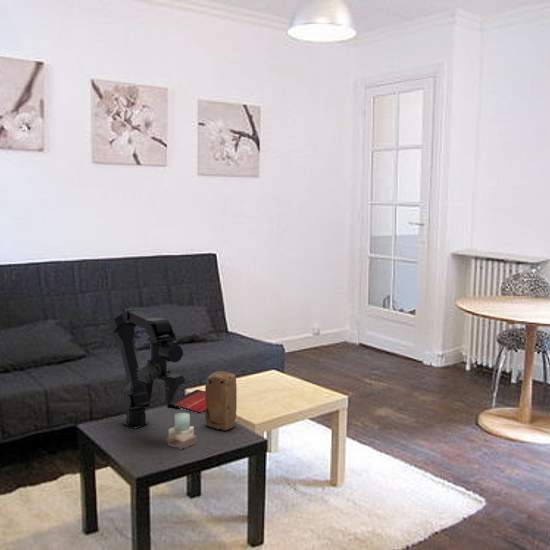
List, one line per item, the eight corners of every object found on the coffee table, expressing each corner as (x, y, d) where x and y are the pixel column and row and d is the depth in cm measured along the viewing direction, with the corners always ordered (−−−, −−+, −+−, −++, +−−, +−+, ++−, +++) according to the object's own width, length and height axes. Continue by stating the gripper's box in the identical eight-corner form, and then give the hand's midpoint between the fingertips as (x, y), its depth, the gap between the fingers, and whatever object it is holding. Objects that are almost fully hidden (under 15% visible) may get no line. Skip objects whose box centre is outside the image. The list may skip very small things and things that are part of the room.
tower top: (168, 438, 213) (168, 429, 213) (178, 432, 219) (179, 423, 218) (183, 441, 211) (183, 432, 210) (193, 435, 216) (193, 426, 216)
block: (238, 426, 232) (238, 373, 229) (226, 433, 225) (227, 378, 223) (213, 420, 237) (213, 368, 235) (201, 427, 231) (201, 373, 228)
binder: (167, 402, 251) (196, 388, 269) (166, 408, 251) (196, 394, 270) (201, 411, 244) (229, 396, 263) (201, 417, 244) (229, 401, 263)
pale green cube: (171, 429, 213) (171, 416, 213) (181, 424, 217) (180, 411, 217) (183, 431, 211) (183, 418, 210) (192, 427, 215) (192, 414, 214)
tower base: (166, 445, 214) (166, 437, 214) (181, 439, 220) (181, 431, 220) (182, 451, 210) (182, 442, 210) (196, 444, 216) (196, 435, 216)
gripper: (121, 356, 215) (122, 401, 217) (163, 365, 205) (163, 412, 207) (145, 350, 224) (145, 393, 226) (186, 358, 214) (185, 403, 216)
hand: (159, 400), depth 219 cm, fingers open, 9 cm apart
